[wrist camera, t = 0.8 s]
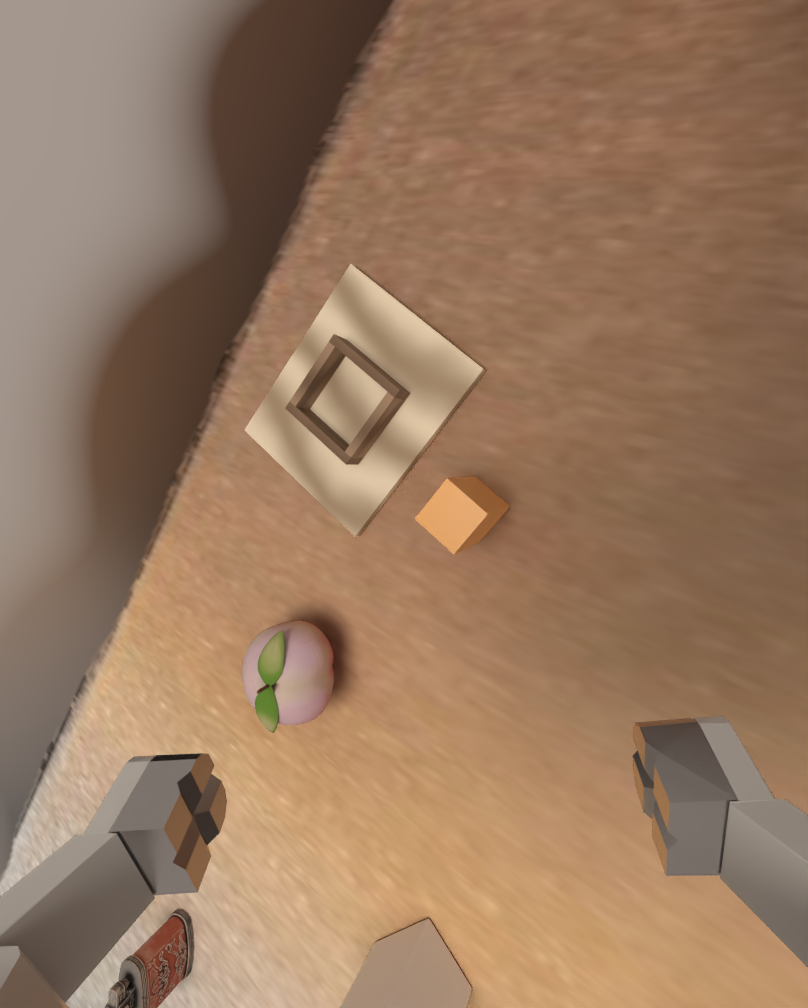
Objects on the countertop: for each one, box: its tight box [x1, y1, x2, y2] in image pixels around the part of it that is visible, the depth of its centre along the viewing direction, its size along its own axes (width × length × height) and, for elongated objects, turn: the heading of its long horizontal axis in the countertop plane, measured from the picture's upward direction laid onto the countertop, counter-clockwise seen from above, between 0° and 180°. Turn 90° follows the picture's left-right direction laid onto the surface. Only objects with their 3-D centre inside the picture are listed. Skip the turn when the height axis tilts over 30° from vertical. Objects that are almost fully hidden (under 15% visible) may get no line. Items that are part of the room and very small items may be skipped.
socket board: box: [245, 264, 486, 537], centre depth 51 cm, size 19×16×4 cm
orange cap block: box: [415, 476, 510, 554], centre depth 45 cm, size 4×4×8 cm
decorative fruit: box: [242, 621, 334, 733], centre depth 51 cm, size 9×8×10 cm
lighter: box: [105, 909, 194, 1008], centre depth 61 cm, size 8×3×10 cm, turn 177°
